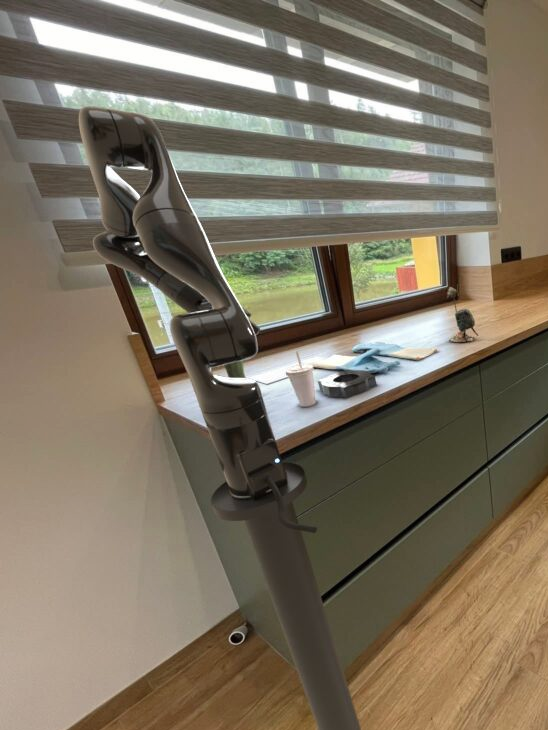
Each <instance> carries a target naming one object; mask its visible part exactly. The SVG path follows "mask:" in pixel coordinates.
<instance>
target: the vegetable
mask: <svg viewBox="0 0 548 730" xmlns="http://www.w3.org/2000/svg"><path fill="white" fill-rule="evenodd" d="M223 366H224V368H225V371H226V375H227V377H230V378H247V377H246V375H245V370H244V360H243V361H239V362H235V363H231V364H226V365H223Z"/></svg>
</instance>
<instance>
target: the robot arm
mask: <svg viewBox="0 0 548 730" xmlns="http://www.w3.org/2000/svg"><path fill="white" fill-rule="evenodd" d="M78 127H79V134H80V138H81V142H82V146H83V149H84V153H85V156H86V159H87V162H88V163H87V164H88V165H89V167H88V168H89V170H90V173H91V177H92V179H93V183H94V185H95V188H96V191H97V194H98V199H99V208H100V219H101V223H102V225H103V227H104V228H105V229H106V231H104V232H101V233H99V234H97V235H95V236H94V237H93V240H92V246H93V248H94V250H95V252H96V253H97V254H98V255H99V256H100V257H101V258H102V259H104V260H105V261H106V262H108V263H110V264H111V265H114V266H116V267H118V268H120V269H123V270H125V271H126V272H127V271H128V272H129V273H131V274H134V275H136V276H138V277H140V278H143V279H144V280H146V281H147V282H148V283H149V284H150V285H152V286H153V287H154V288H156V289H158V290H159V291H160V292H161V293H162V294H163V295H164V296H165V297H166V298H168V299H169V300H170V301H171V302H173V303H175V304H176V305H177V306H179V308H181V309H182V310H184V311H185V312H186V313H182V314H177V315H174V316H172V318H171V319H170V321H169V331H170V334H171V337H172V341H173V343H174V346H175V348H176V350H177V353H178V355H179V357H180V359H181V362H182V364H183V366H184V368H185V371H186V373H187V376H188V378H189V381H190V383H191V386H192V389H193V392H194V394H195V397H196V400H197V404H198V406H199V409H200V412H201V414H202V417H203V420H204V423H205V425H206V428H207V431H208V434H209V436H210V440H211V443H212V445H213V448H214V450H215V451H214V452H215V454H216V456H217V458H218V461H219V465H220V467H221V469H222V473H223V475H224V478H225V480H226V481H227V484H228V486H229V489H230V494H231V496H232V497H233V498H235V499H238V500H249V499H252V500H254V501H256V500H258V499H260V498H262V497H264V496H265V495H267V494H269V493H271V492H273V494H274V496H275V499H276V502H277V506H278V520H279V521H280V523H281V524H282V525H284V526H285V527H287V528H290V529H294V530H299V531H301V532H305V533H312V534H315V533H317V531H318V528H317V526H313V525H307V524H300V523H299V524H296V523H292V522H290V521H288V520H287V519H285V517H284V504H283V500H282V497H281V494H280V492H279V490H278V489H279V488H281V487H282V486H284V485H286V484H288V482H287V475H286V472H285V470H284V467H283V463H284V462H283V460H282V457H281V454H280V451H279V448H278V445H277V441H276V437H275V434H274V430H273V427H272V425H271V421H270V417H269V414H268V411H267V407H266V404H265V400H264V397H263V393H262V391H261V386H260V385H259V383H258V381H256V380H254V379H253V378H252V379H251V378H247V377H246V378H230V377H228V376H222V375H219V374H216V373H213V372H212V369H213V368H217V367H218V368H219V367H221V366H224V365H226V364H231V363H235V362H239V361H243V362H244V361H247V360H249V359H250V360H251V359H252V358H254V357H255V356H257V353H258V350H259V347H258V346H259V344H258V340H257V335H259V333H260V331H261V328H260V327H259V326H258V325H257V324H256V323H255V322H253V321H252V320H251V319H250V318H251V317H252V313H251V312H250V311H248V310H247V309H245V308H244V307H242V305H241V304H240V301H238V299H237V297H236V295H235V293H234V292H233V290H232V288H231V286H230V284H229V283H228V282H227V279H226V278H225V276H224V274H223V271H222V270H221V267H220V265H219V263H218V260H217V259H216V256H215V254H214V252H213V248H212V247H211V244H210V242H209V239H208V237H207V235H206V232H205V231H204V228H203V226H202V224H201V222H200V220H199V218H198V216H197V214H196V213H195V211H194V209H193V207H192V205H191V202H190V201H189V199H188V197H187V195H186V193H185V191H184V189H183V186H182V184H181V182H180V180H179V177H178V174H177V172H176V168H175V166H174V164H173V161H172V158H171V155H170V153H169V150H168V148H167V145H166V142H165V139H164V137H163V135H162V132H161V131H160V129H159V126H158V125H157V124H156V122H155V121H154V120H153V119H152V118H150V117H149V116H148V115H144V114H141V113H138V112H133V111H127V110H119V109H113V108H105V107H100V106H83V107H82V108H80V110H79V112H78ZM114 168H119V169H121V168H122V169H131V170H133V169H134V170H142V171H147V172H150V173H151V175H150V180H149V182H148V184H147V185H146V188H145V189H144V190H143V192H142V193H141V195H140V194H139V193H138V192H137V191H136V190H135V188H134V187H132V186H131V185H130V184H129V183H128V182H126V180H124V179H123V178H122V177H121V175H119V174H118V173H117V172H116V171H115V169H114ZM226 481H225V482H226Z"/></svg>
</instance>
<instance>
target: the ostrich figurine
mask: <svg viewBox="0 0 548 730" xmlns="http://www.w3.org/2000/svg"><path fill="white" fill-rule="evenodd" d="M457 292H458V291H457V289H456V288H454V287H453V286H450V287H448V289H447V292H446V295H447V296H446V299H448V298H452V302H453V304H454V309H455V313H454V317H455V320H456V321H455V322H456V326H457V328H458V331H457V334H455V335H453V337H451V338H450V339H448V341H449V342H454V343H455V342H456V343H464V342H465V343H466V342H473V341H474V340H475V337H474V336H472V335H468V333H467V330H469V329H471V330H472V332H473V333H474V334H475V335H476V336H477V337H479V335H480V334H478V332H476V330H475V328H474V327H475V325H476V321H475V318H474V316H473V313H472V312H471V311H470V310H469V309H468V308H463V309H459V310H458V309H457V305H456V300H455V298H456V296H457Z"/></svg>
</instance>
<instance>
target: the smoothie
mask: <svg viewBox="0 0 548 730" xmlns="http://www.w3.org/2000/svg"><path fill="white" fill-rule="evenodd" d="M295 354H296V358H297V361H298V364H297V365H294V366H291V367H289V368H287V369H285V375H286V376H287V377H288V379H289V382H290V384H291V386H292V389H293V391H294V394H295V396H296V398H297V400H298V403H299V406H300V407H303V408H307V407H311V406H314V405H315V404H317V398H316V389H315V379H314V371H315V369H314V367H313V366H312V365H308V363H307V364H306V363H305V364H302V360H301V355H300V352H299V350H295Z"/></svg>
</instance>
